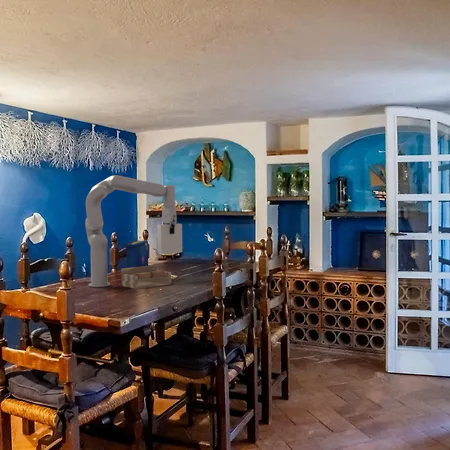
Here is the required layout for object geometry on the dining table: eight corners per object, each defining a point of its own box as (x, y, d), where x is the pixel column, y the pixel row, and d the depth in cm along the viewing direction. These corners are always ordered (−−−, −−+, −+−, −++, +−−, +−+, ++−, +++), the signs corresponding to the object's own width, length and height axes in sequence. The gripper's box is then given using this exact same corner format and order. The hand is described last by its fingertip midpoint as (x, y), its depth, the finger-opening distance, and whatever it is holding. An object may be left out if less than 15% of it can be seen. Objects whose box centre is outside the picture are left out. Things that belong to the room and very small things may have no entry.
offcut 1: (135, 287, 289) (135, 273, 289) (146, 285, 294) (146, 272, 294) (139, 287, 286) (138, 274, 286) (150, 286, 291) (150, 272, 291)
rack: (121, 285, 295) (121, 268, 294) (155, 280, 311) (155, 265, 310) (136, 288, 282) (135, 271, 282) (171, 284, 298) (170, 267, 298)
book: (136, 283, 302) (135, 242, 301) (125, 283, 304) (124, 242, 302) (148, 277, 323) (148, 239, 322) (138, 277, 325) (138, 239, 324)
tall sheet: (157, 253, 308) (157, 224, 307) (178, 251, 319) (178, 223, 318) (161, 254, 305) (160, 225, 304) (182, 252, 316) (181, 224, 315)
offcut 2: (149, 285, 296) (149, 271, 295) (160, 283, 301) (160, 270, 301) (153, 285, 293) (153, 272, 292) (164, 284, 298) (164, 271, 298)
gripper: (156, 204, 314) (157, 233, 315) (172, 204, 302) (172, 234, 303) (166, 204, 319) (167, 232, 320) (182, 204, 307) (182, 234, 307)
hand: (169, 233), depth 311 cm, fingers closed on tall sheet, 4 cm apart
